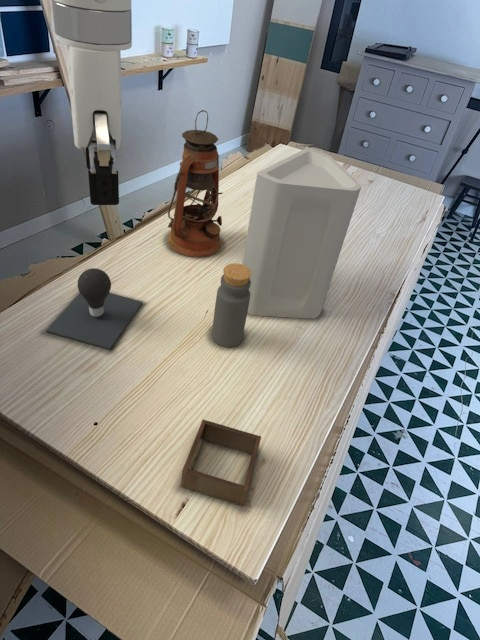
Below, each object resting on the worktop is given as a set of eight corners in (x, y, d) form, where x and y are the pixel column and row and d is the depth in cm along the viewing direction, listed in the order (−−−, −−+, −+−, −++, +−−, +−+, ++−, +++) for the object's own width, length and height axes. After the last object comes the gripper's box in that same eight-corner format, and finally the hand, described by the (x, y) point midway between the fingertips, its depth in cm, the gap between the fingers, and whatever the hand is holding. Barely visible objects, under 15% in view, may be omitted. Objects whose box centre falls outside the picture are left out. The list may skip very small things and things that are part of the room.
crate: (242, 506, 62) (247, 490, 60) (180, 486, 63) (182, 470, 61) (257, 452, 69) (261, 436, 66) (200, 435, 70) (202, 419, 67)
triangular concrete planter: (296, 339, 89) (335, 206, 71) (233, 305, 95) (255, 173, 77) (337, 295, 102) (379, 173, 84) (280, 267, 108) (308, 147, 90)
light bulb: (96, 329, 83) (93, 285, 77) (74, 316, 85) (68, 271, 79) (119, 314, 87) (117, 270, 81) (97, 302, 89) (93, 258, 83)
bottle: (242, 349, 85) (254, 283, 76) (210, 345, 85) (219, 279, 75) (242, 328, 90) (254, 263, 80) (212, 324, 89) (220, 259, 80)
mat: (110, 350, 81) (110, 348, 80) (46, 332, 82) (46, 330, 81) (142, 303, 91) (142, 301, 91) (85, 288, 92) (85, 286, 92)
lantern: (195, 267, 103) (207, 129, 84) (150, 245, 107) (151, 109, 88) (236, 239, 115) (255, 112, 95) (193, 220, 119) (203, 94, 100)
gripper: (54, 6, 52) (69, 157, 63) (53, 41, 40) (71, 220, 51) (123, 14, 54) (125, 158, 65) (142, 49, 42) (141, 219, 53)
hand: (102, 185), depth 58 cm, fingers open, 9 cm apart
